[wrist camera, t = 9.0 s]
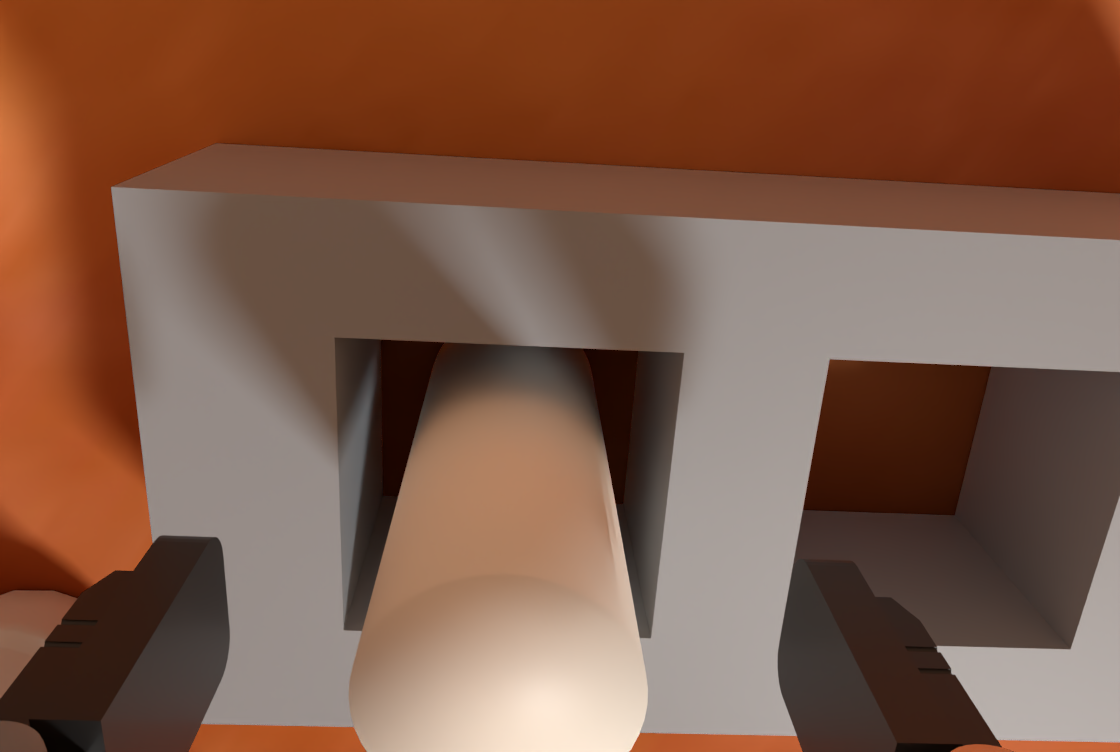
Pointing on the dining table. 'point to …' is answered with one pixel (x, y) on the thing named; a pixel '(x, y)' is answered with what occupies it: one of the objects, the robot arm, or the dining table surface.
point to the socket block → (638, 403)
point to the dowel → (503, 571)
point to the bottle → (26, 627)
